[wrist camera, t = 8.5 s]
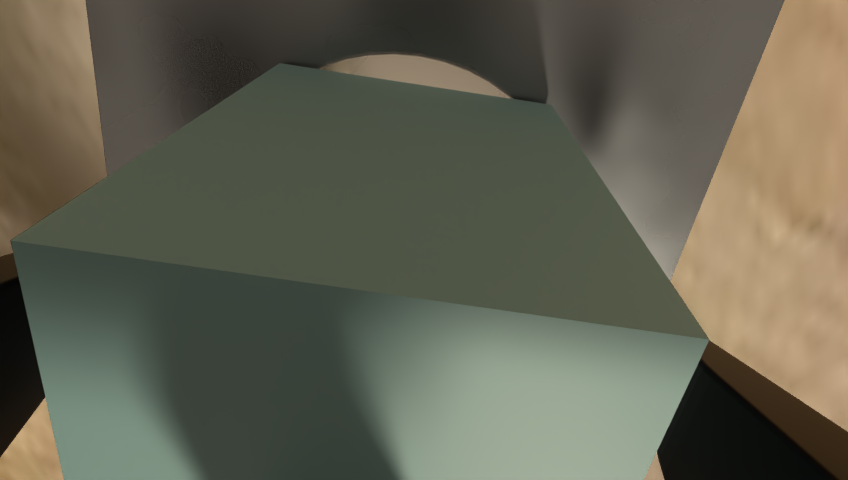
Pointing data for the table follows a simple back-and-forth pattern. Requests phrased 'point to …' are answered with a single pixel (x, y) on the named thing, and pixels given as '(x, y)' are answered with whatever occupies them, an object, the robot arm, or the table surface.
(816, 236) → the table surface
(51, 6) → the table surface
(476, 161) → the block
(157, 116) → the press bed
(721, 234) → the table surface
